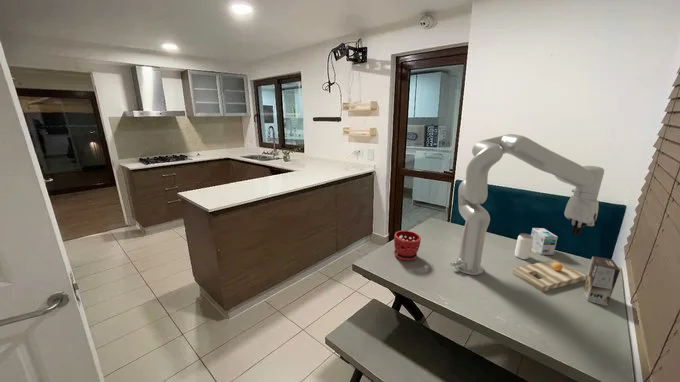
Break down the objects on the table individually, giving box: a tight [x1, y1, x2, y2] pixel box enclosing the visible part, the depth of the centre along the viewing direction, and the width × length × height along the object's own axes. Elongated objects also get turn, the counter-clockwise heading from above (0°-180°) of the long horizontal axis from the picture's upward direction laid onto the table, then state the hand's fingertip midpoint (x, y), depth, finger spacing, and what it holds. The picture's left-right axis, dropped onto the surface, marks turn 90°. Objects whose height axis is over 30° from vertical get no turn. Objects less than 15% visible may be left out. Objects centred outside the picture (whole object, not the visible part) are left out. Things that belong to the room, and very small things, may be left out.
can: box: [514, 232, 533, 260], centre depth 138 cm, size 6×6×12 cm
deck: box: [511, 259, 587, 293], centre depth 122 cm, size 26×14×2 cm, turn 108°
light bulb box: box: [530, 227, 559, 256], centre depth 145 cm, size 11×7×11 cm, turn 178°
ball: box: [553, 262, 563, 271], centre depth 123 cm, size 4×4×4 cm
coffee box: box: [582, 255, 621, 307], centre depth 107 cm, size 9×6×16 cm
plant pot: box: [393, 230, 422, 262], centre depth 139 cm, size 13×13×12 cm
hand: (575, 234), depth 120 cm, fingers closed
